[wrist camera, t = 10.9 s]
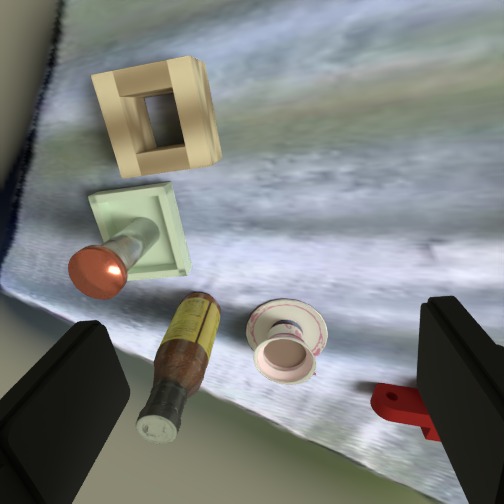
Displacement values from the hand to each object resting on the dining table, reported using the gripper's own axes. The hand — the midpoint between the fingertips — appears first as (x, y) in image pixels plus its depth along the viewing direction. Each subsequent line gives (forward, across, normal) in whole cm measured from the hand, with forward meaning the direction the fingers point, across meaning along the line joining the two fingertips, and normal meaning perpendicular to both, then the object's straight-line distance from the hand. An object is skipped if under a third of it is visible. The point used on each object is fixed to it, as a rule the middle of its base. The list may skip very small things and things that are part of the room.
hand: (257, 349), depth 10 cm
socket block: (+32, +12, -7) cm, 35 cm away
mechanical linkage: (+33, -17, +37) cm, 53 cm away
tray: (+32, +19, +6) cm, 38 cm away
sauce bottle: (+32, +14, +19) cm, 40 cm away
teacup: (+33, +2, +24) cm, 41 cm away
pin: (+32, +19, +6) cm, 37 cm away
